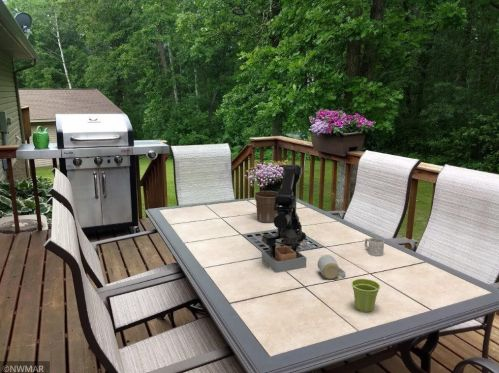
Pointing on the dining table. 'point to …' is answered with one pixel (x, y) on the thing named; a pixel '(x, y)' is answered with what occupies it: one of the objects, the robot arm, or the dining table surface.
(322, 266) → the ceramic mug
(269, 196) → the plant pot
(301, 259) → the big crate
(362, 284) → the plant pot
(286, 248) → the small crate
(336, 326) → the dining table surface
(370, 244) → the mug
